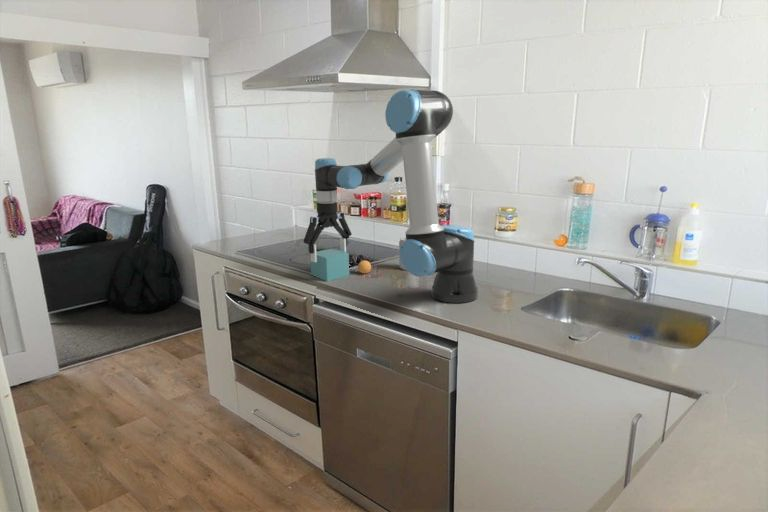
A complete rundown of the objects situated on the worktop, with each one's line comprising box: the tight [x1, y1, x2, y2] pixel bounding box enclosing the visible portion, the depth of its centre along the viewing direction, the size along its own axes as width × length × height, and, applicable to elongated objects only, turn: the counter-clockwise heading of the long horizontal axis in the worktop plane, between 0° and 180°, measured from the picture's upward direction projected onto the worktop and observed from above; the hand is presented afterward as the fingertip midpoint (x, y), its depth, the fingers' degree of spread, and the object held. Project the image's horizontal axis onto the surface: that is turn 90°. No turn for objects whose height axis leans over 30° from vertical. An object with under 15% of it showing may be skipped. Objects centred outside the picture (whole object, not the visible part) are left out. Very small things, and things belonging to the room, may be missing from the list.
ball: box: [357, 259, 372, 275], centre depth 197 cm, size 5×5×5 cm
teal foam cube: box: [309, 247, 350, 282], centre depth 194 cm, size 10×10×9 cm
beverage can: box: [398, 236, 408, 271], centre depth 201 cm, size 6×6×12 cm
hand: (328, 258), depth 194 cm, fingers open, 13 cm apart
